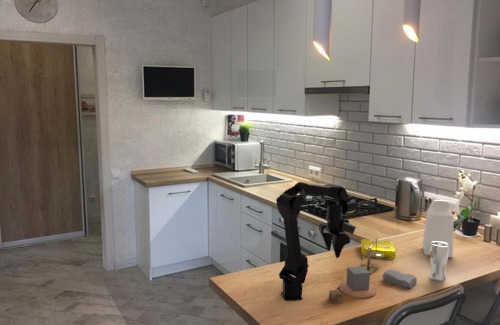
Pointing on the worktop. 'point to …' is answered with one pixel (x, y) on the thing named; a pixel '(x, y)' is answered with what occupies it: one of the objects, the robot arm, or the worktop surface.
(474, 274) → the worktop surface
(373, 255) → the bronze balance
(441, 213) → the milk
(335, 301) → the walnut block
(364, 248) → the element tile
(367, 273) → the matte slate cube
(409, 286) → the stone block
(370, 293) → the peach round platter
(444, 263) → the beer glass
